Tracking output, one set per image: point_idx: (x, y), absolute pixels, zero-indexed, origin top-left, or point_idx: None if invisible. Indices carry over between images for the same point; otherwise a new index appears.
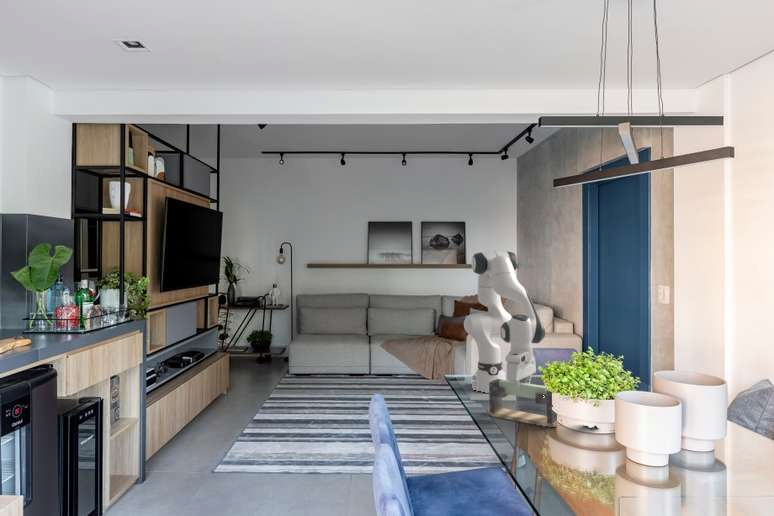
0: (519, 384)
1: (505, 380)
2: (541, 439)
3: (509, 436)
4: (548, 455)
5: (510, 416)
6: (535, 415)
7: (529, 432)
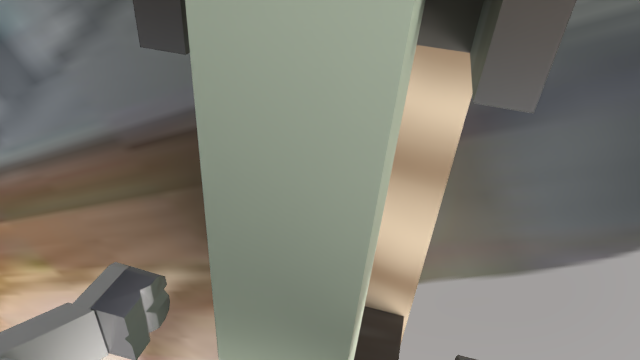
0: (218, 349)
1: (372, 47)
2: (118, 258)
3: (36, 123)
4: (13, 286)
5: None
6: (401, 217)
7: (157, 202)
